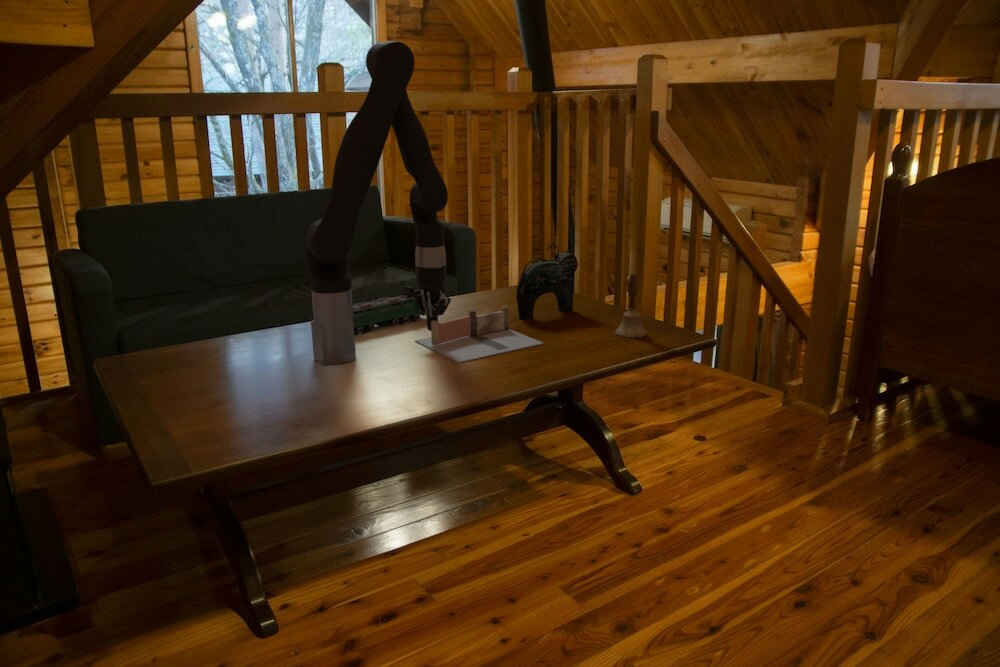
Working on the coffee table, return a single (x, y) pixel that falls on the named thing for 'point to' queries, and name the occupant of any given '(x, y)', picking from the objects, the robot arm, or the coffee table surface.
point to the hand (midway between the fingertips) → (432, 330)
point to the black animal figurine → (547, 282)
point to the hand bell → (631, 314)
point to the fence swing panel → (450, 330)
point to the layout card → (481, 345)
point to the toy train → (386, 311)
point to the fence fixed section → (489, 321)
